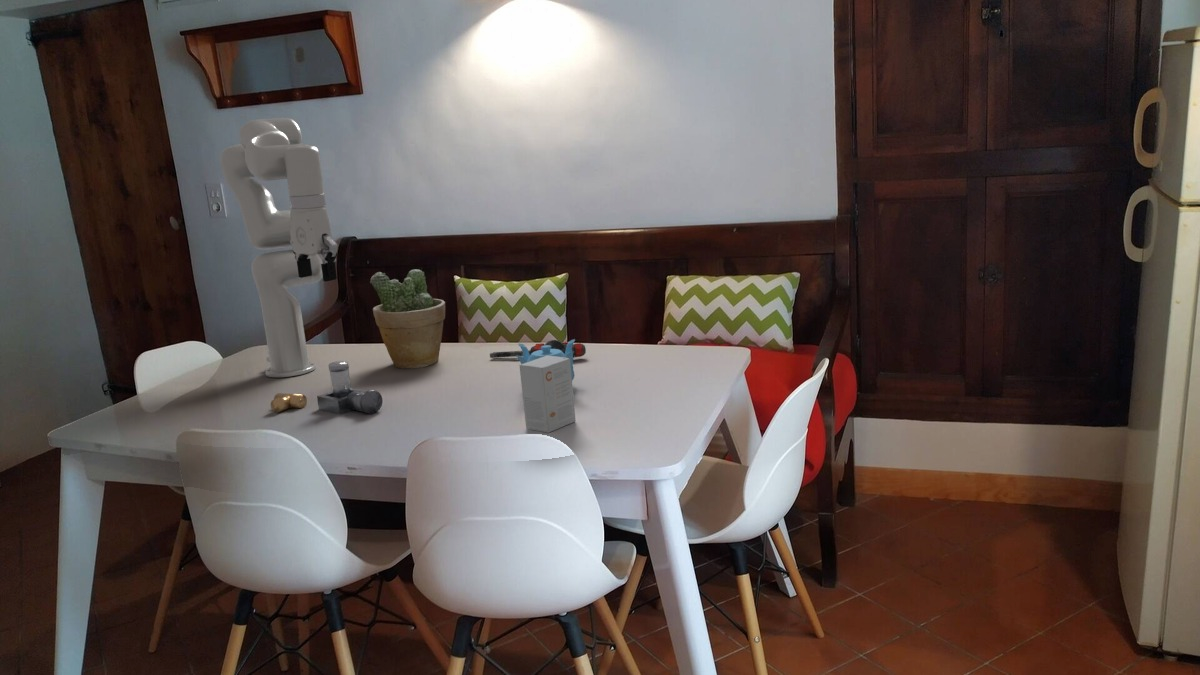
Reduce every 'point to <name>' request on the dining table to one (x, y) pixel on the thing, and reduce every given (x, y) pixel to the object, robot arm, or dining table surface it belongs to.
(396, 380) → the dining table surface
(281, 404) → the bronze tee
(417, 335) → the potted plant
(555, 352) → the teapot
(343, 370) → the silver capped cylinder
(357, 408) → the grey framed piece
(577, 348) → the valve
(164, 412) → the dining table surface
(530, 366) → the small box
